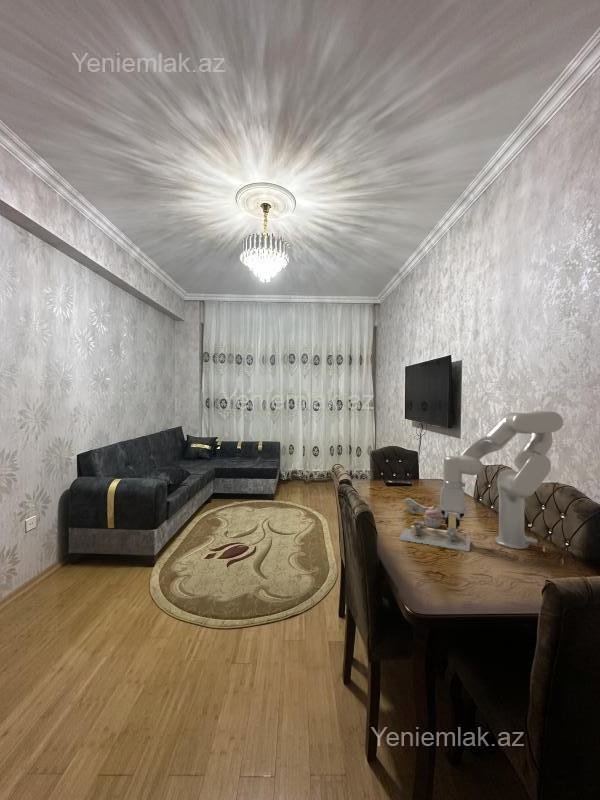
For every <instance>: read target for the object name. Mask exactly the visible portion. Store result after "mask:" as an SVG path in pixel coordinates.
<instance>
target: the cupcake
mask: <svg viewBox="0 0 600 800" xmlns="http://www.w3.org/2000/svg"><path fill="white" fill-rule="evenodd" d="M422 517H423V519H424V524H425V526H426V528H433V529H439V528H440V527H441V523H442V521H443V518H444V517H442V516H441V513H440V512H439V511H438V510H437V507H435V506H434V505H432V506H430V507H429V509H428V510H426V512H424V514H423V515H422Z"/></svg>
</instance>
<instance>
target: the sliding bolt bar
mask: <svg viewBox="0 0 600 800" xmlns="http://www.w3.org/2000/svg"><path fill="white" fill-rule="evenodd" d="M410 529H411V532H414V533H416V536H419V533H420V534H426V535H432V536H439V537H445V538H450V532H447V530H445V529H439V528H430V527H427V526H426V527H425V521H421V520H414V522H413V524H412V525H411V526H410ZM466 538H467V533H465V532H459V531H458V532H457V533H454V535H453V539H457V540H464V541H466Z"/></svg>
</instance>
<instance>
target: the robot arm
mask: <svg viewBox="0 0 600 800" xmlns="http://www.w3.org/2000/svg"><path fill="white" fill-rule="evenodd" d="M564 423H565V421H564V418H563V416H562V415H561V414H560V413H558V412H556V411H550V410H549V411H548V410H547V411H546V410H537V411H532V412H524V413H523V412H509V413H507V414H505V415H504V416H503V417H501V419H500V420H499V421H498V422H497V423H496V424H495V425H494V426H493V427H492V428H491V429H490V430H489V431H487V433H486V434H485V435H484V436H482V437H481V438H479V439H478V440H476V441H474V442H473V443H472V444H471V445H469V446H468V447H467V448H466V449H465V450H464V451H463V452H462V453H461V454H460V455H459V456H451V455H449V456H448V455H447V456H444V458H443V476H442V477H443V485H442V486H441V490H440V497H439V498H440V499H439V504H438V505H437V507H436V509H437V510H438V511H439V512H441V513H442V514H443V515H444V516H445V517H444V520H445V522H444V523H445V525H446V528H447V527H448V526H449V515H448V512H451V513H456V514H457V516H456V528H457V529H458V528H459V527H460V526H461V525H460V524H461V522H460V521H461V520H460V518H461V519H462V518H463V517H465V516H467V515H469V514H470V512H469V510H468V508H467V505H466V495H465V494H466V493H465V489H464V487H466V483H464V482H463V475H469V476H477V475H480V474H481V473H483V470H484V464H483V463H482V461H481V459H483V457H485V456H487V455H489V454H491V453H495V452H498V451H500V450H503V448H505V447H506V446H507V444H508V443H510V441H511V440H512V439H513V438H514V437H516V435H518V434H523V435H524V434H526V435H528V434H529V438H528V440H527V441H526V443H525V444H524V445H523V447H522V448H521V449H520V450H519V451H518V452H517V454H516V456H514V457H515V458H514V459H513V460H514V461H513V463H514V466H515V468H517V469H518V470H519V471H516V470H513V469H505V470H503V471H500V473H499V474H498V476H497V479H496V485H497V492H498V535H497V536H495V537H494V542H495V543H496V544H497V545H499V546H502V547H505V548H508V547H509V549H514V548H515V549H514V550H523V549H524V550H525V549H528V548H529V545H530V544H534V545H538V539H537V538H534V537H531V536H526V534H525V499H526V498H529V497H531V496H532V495H533V494H534V493H535V492H536V491H538V488H539V487H541V485H542V483H543V482H544V481H545V479H546V478H547V477H548V475H549V474H550V472H551V468H552V463H551V460H550V458H549V457H548V456H547V454H548V452H549V451H550V450H551V448H552V445H553V441H554V440H553V439H554V438H553V434H552V433H556V432H557V431H559V430H561V429H562V428H563V425H564Z"/></svg>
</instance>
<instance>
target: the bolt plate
mask: <svg viewBox="0 0 600 800" xmlns="http://www.w3.org/2000/svg"><path fill="white" fill-rule="evenodd" d="M399 541H403V542H409V541H410V543H415V542H416V543H417V544H421V543H423V544H422V545H427V544H429V545H428V546H433V545H434V547H438V546H441V547H440V548H444V547H445V548H446V549H451V550H456V551H463V552H468V551H469V552H470V551H471V550H470V548H471V538H470V537H466V541H464V540H457V539H453V540H450V538H445V537H439V536H432V535H426V534H420V533H419V536H416V533H414V532H411V528H407V527H405V528H404V529H403V530H402V532H401V533H400V536H399Z"/></svg>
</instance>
